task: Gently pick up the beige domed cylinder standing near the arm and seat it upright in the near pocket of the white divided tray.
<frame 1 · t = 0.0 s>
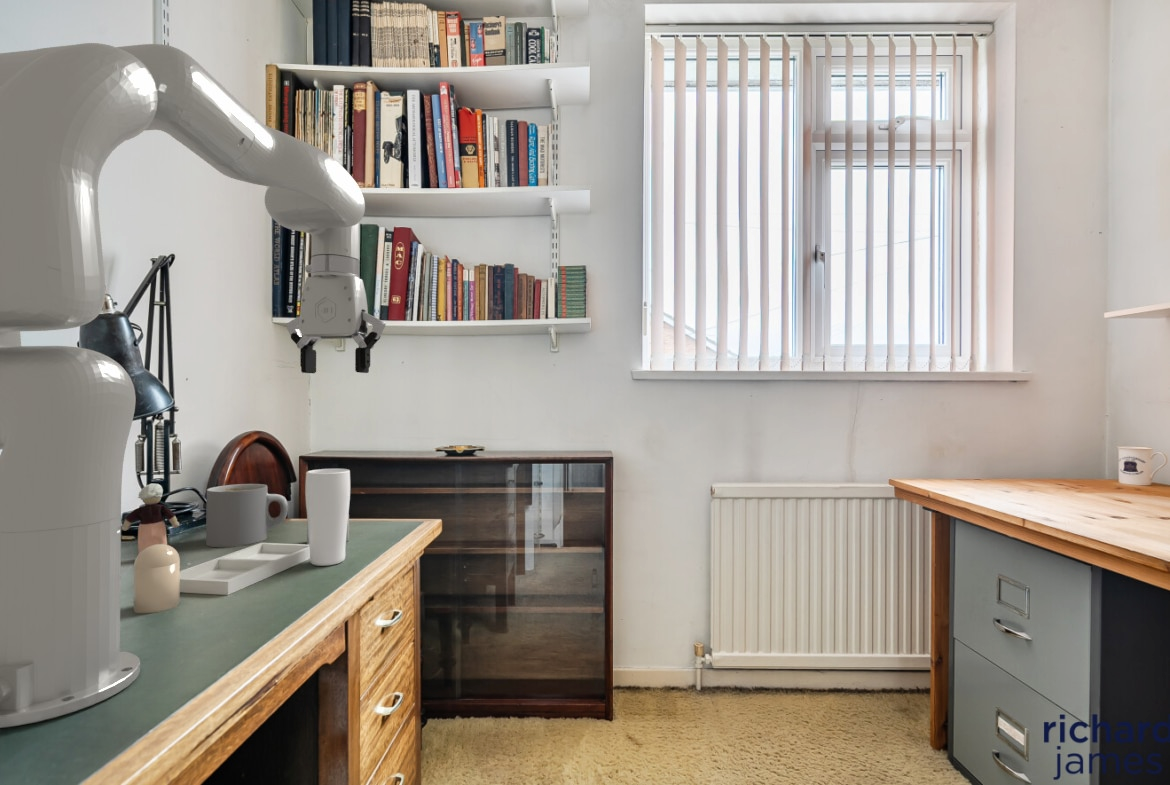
hand: (335, 372, 98), 31 cm above the table, fingers open, 9 cm apart
coffee mug: (247, 541, 111), on the table
white divided tray: (246, 571, 91), on the table
padlock: (328, 543, 110), on the table
drinking glass: (327, 563, 96), on the table
grandmother figurine: (150, 561, 98), on the table
beige domed cylinder: (156, 606, 76), on the table
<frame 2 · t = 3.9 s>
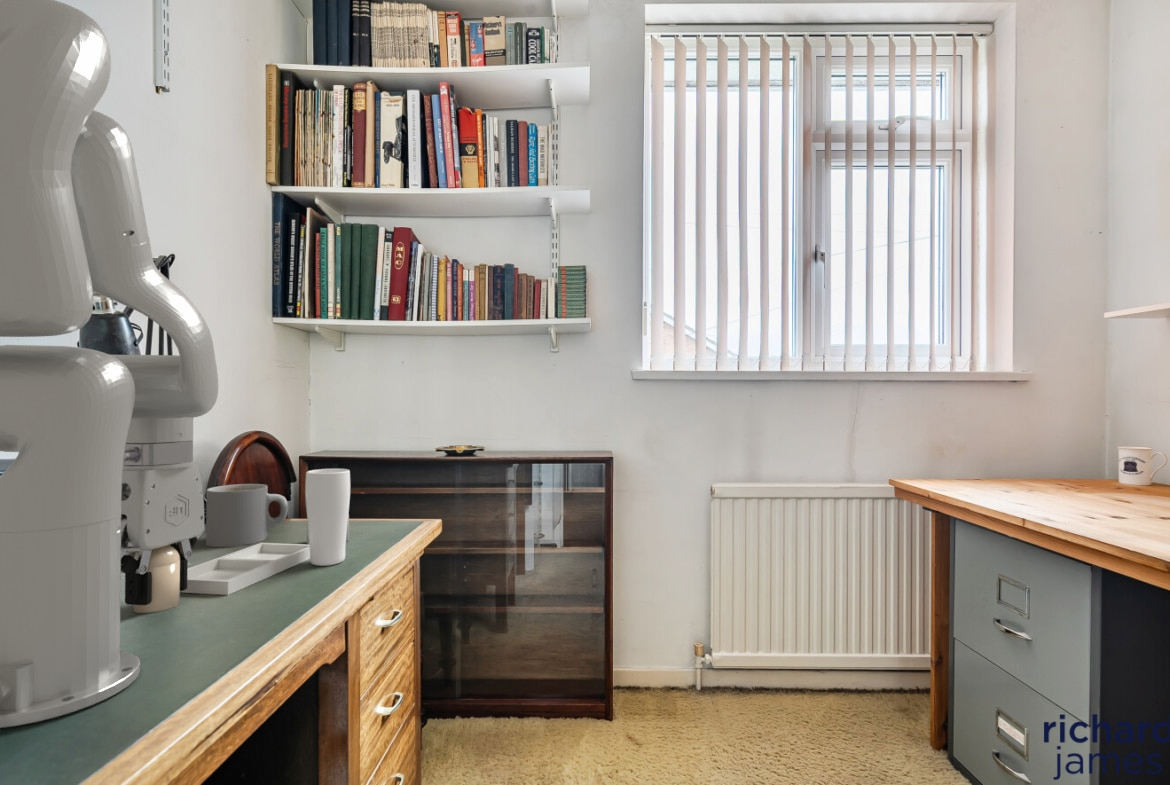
hand: (157, 595, 76), 1 cm above the table, fingers closed on beige domed cylinder, 4 cm apart
beige domed cylinder: (157, 606, 76), on the table, touching gripper
everything else where it was.
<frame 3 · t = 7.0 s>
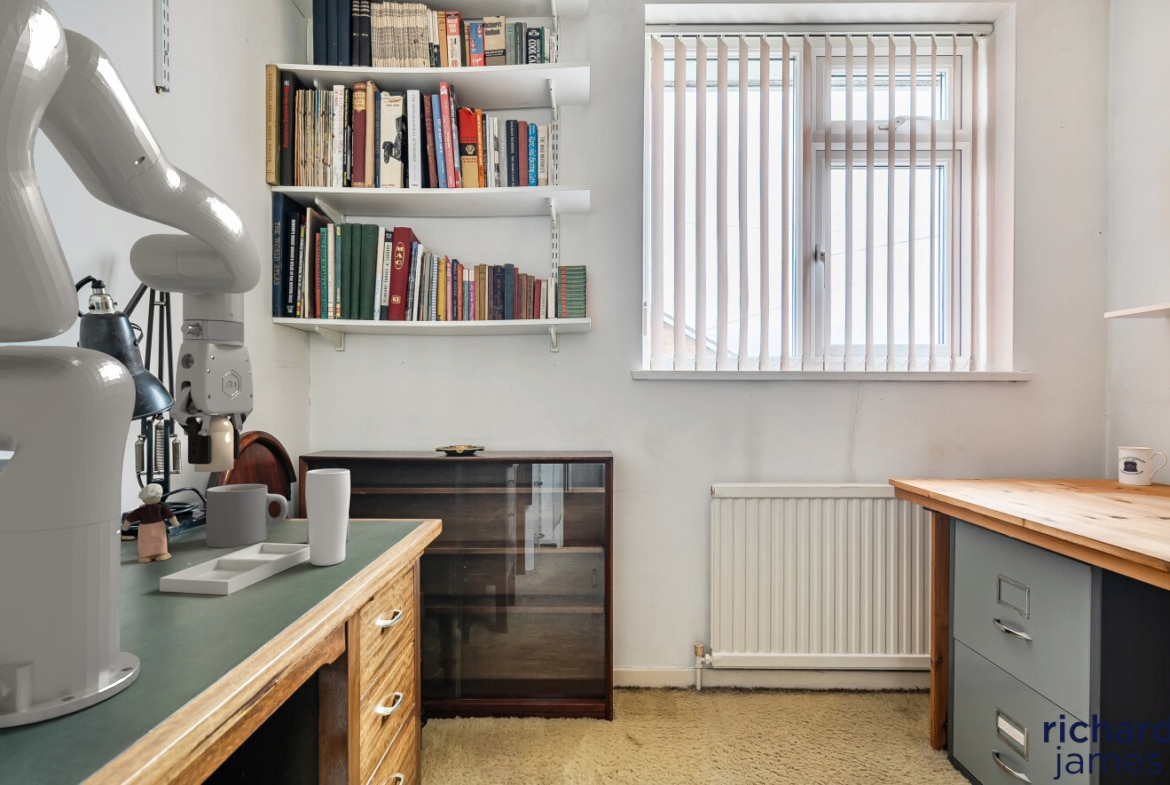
hand: (214, 460, 85), 18 cm above the table, fingers closed on beige domed cylinder, 4 cm apart
beige domed cylinder: (214, 469, 85), point 17 cm above the table, touching gripper
everything else where it was.
when the fingers open (2 cm above the table, at t = 10.5 s): beige domed cylinder stays where it is, resting on white divided tray.
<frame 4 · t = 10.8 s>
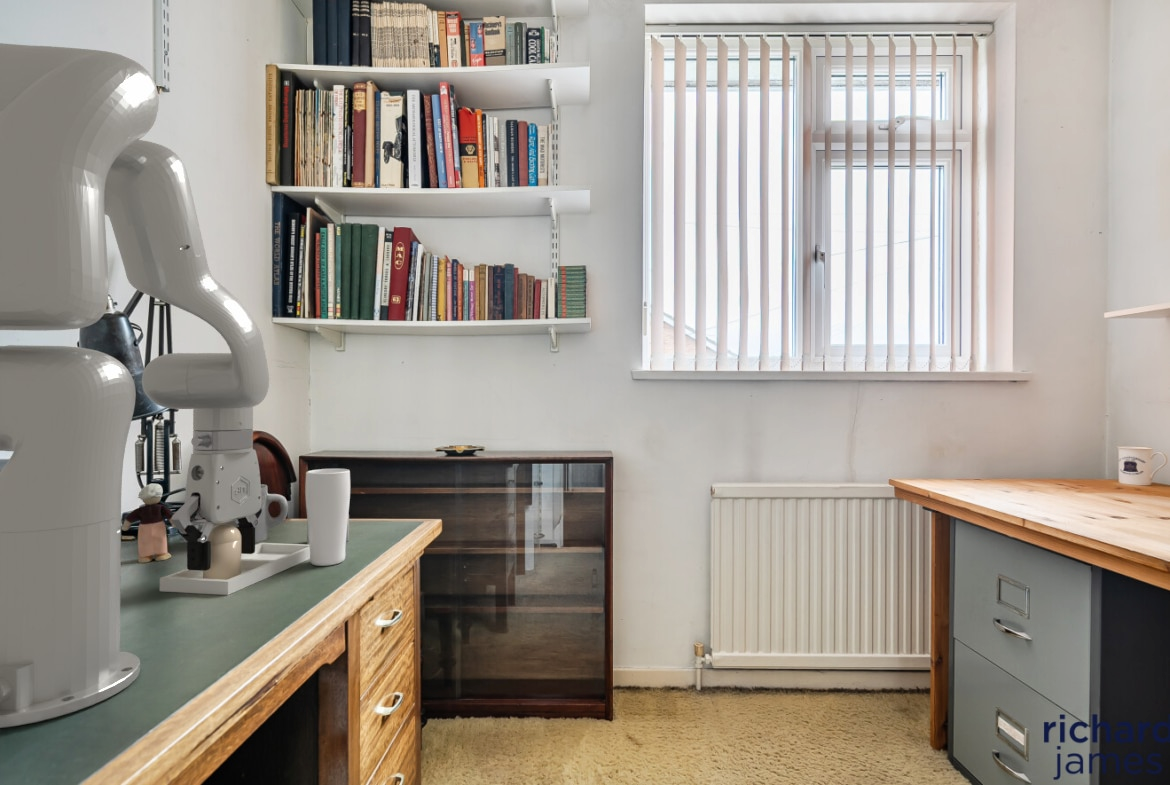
hand: (222, 560, 86), 3 cm above the table, fingers open, 8 cm apart
beige domed cylinder: (222, 578, 86), resting on white divided tray
everything else where it was.
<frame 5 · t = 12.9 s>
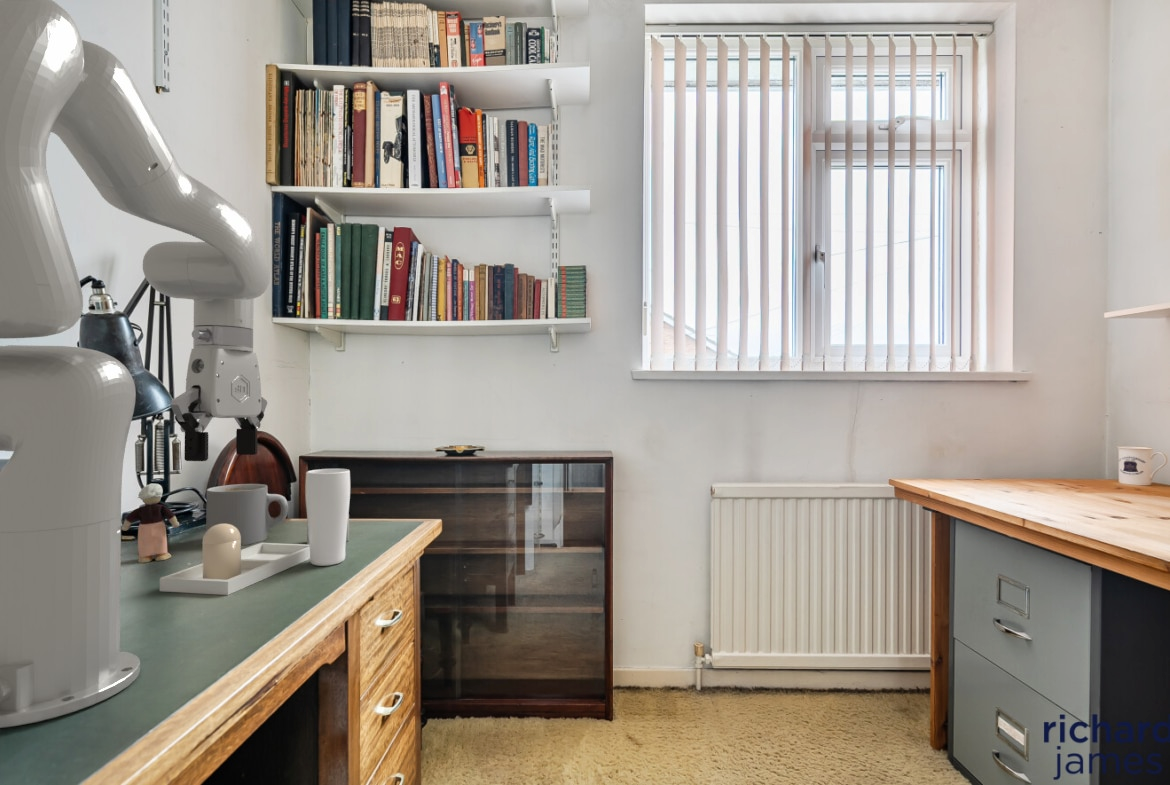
hand: (222, 457, 86), 18 cm above the table, fingers open, 9 cm apart
nothing on the table moved.
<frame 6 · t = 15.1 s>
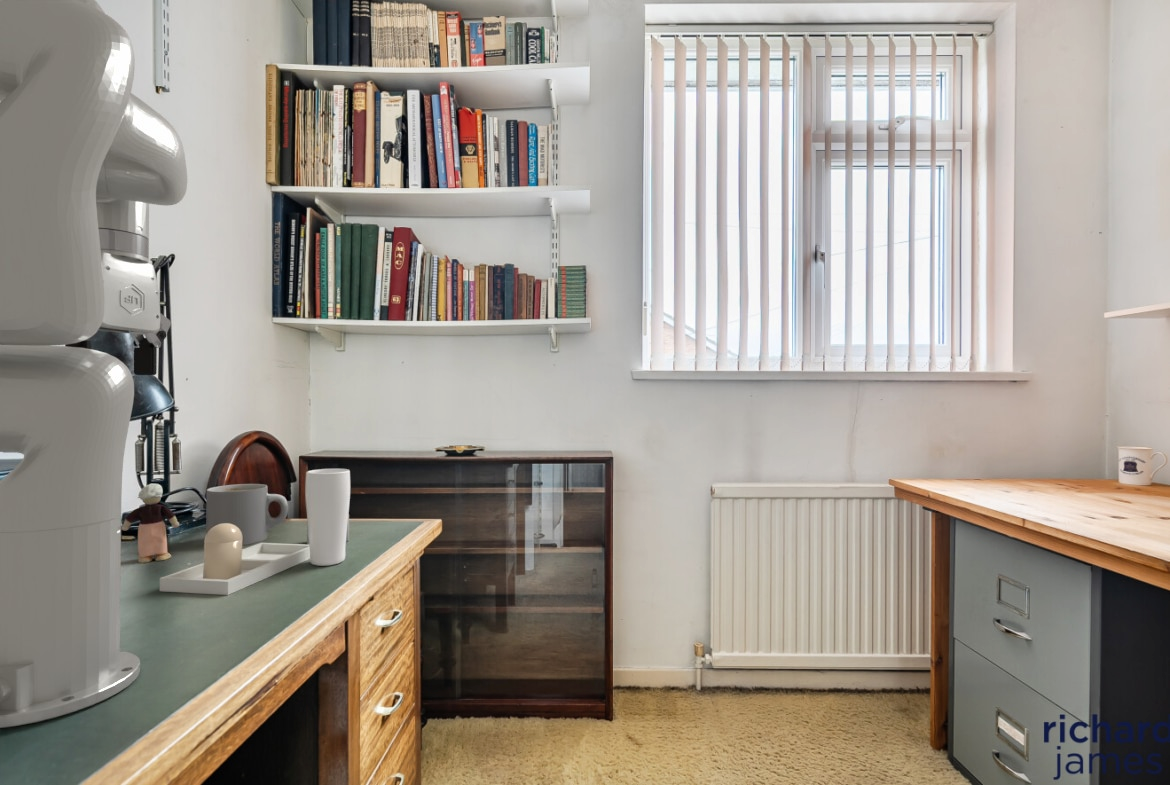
hand: (113, 373, 81), 30 cm above the table, fingers open, 9 cm apart
nothing on the table moved.
at the end: beige domed cylinder 0.0 cm from the target spot on the white divided tray, point 0.5 cm above the white divided tray's base; beige domed cylinder tilted 2°; the gripper is holding nothing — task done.
